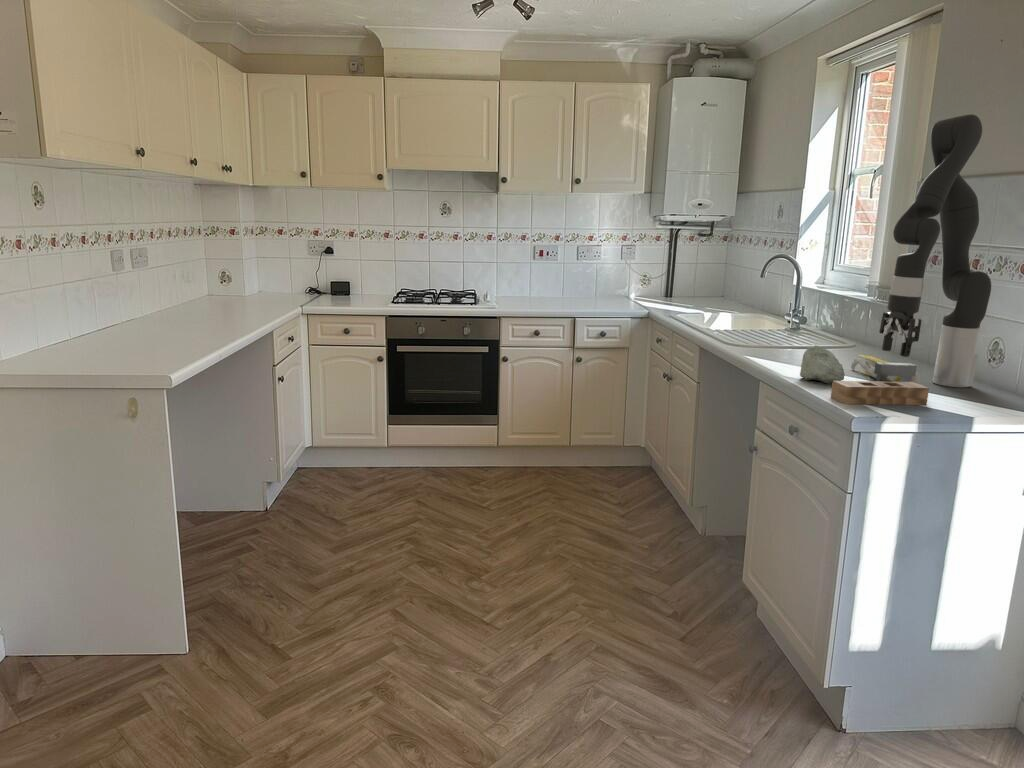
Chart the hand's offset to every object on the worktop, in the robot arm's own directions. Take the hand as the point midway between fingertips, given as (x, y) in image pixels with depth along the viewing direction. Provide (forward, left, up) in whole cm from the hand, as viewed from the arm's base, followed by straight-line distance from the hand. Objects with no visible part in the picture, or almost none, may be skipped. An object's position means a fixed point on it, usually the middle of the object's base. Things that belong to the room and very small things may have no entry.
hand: (895, 353), depth 195 cm
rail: (+10, +10, -11) cm, 18 cm away
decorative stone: (+14, -13, -11) cm, 22 cm away
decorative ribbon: (-8, -15, -11) cm, 21 cm away
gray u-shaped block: (0, 0, -11) cm, 11 cm away
